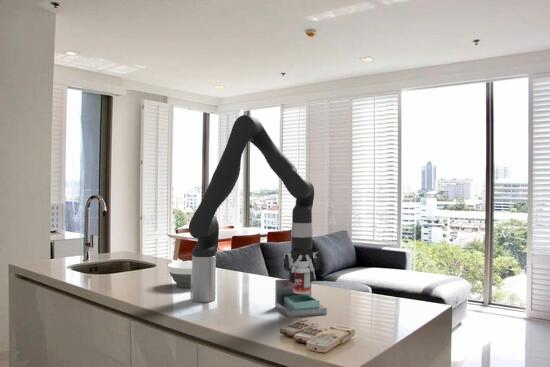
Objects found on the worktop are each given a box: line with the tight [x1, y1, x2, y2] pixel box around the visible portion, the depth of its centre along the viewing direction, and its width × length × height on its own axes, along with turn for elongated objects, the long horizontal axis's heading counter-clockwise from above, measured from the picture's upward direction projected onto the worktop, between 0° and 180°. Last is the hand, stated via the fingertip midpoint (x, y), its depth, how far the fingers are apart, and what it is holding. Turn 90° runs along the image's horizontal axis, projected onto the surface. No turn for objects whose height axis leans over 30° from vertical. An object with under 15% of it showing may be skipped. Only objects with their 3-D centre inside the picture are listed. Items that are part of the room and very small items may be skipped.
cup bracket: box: [274, 278, 328, 318], centre depth 157 cm, size 14×14×10 cm
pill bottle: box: [293, 261, 310, 294], centre depth 156 cm, size 6×6×11 cm
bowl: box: [167, 260, 192, 289], centre depth 197 cm, size 20×20×10 cm
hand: (301, 282), depth 156 cm, fingers closed on pill bottle, 6 cm apart
